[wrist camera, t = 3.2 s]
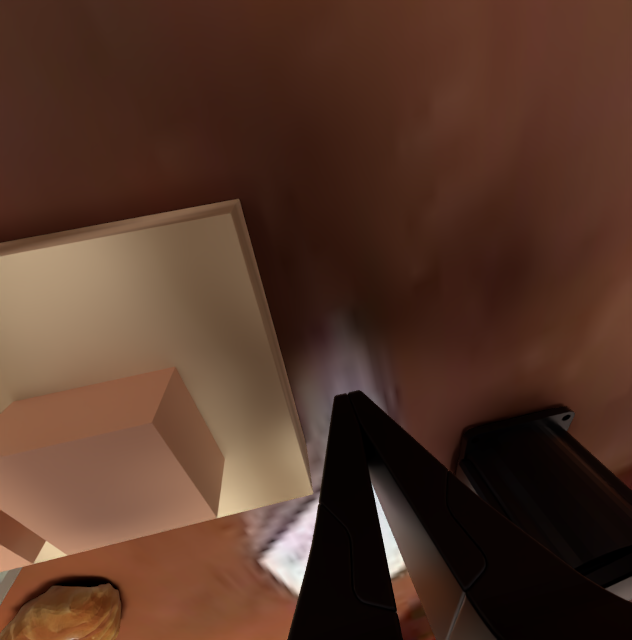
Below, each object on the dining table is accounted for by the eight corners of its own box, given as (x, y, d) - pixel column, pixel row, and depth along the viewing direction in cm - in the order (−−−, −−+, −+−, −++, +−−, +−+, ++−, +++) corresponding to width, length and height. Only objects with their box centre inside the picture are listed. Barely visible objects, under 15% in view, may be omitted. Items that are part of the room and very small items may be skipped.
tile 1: (175, 366, 8) (151, 422, 6) (224, 458, 10) (217, 517, 9) (12, 401, 8) (-58, 470, 6) (100, 488, 10) (67, 555, 8)
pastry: (21, 570, 17) (-37, 671, 13) (146, 571, 19) (122, 656, 16) (10, 631, 20) (-38, 722, 17) (116, 625, 23) (92, 704, 19)
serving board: (238, 198, 8) (230, 213, 6) (306, 444, 15) (313, 494, 13) (-274, 293, 8) (-482, 346, 6) (26, 511, 14) (-17, 576, 12)
